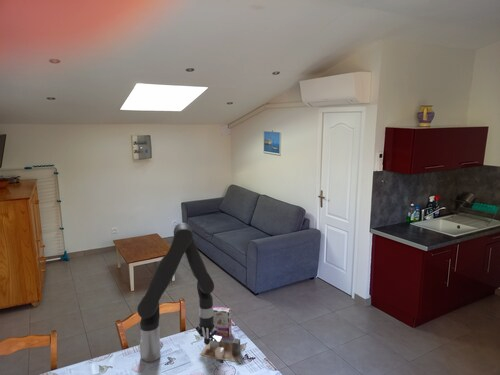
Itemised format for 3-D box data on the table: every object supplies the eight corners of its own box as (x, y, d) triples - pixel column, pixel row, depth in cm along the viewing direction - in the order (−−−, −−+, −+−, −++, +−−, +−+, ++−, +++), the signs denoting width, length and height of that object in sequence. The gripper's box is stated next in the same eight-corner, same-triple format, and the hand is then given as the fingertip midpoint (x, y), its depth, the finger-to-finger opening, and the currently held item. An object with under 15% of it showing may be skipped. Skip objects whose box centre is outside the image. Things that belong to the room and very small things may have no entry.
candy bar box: (231, 334, 202) (231, 307, 199) (229, 339, 197) (228, 312, 194) (213, 331, 204) (212, 305, 201) (210, 336, 199) (209, 310, 197)
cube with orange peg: (207, 354, 182) (207, 344, 181) (213, 345, 189) (213, 335, 188) (216, 356, 180) (216, 345, 179) (222, 347, 188) (222, 336, 187)
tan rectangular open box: (199, 356, 182) (198, 342, 181) (210, 341, 195) (209, 328, 194) (235, 364, 176) (235, 349, 175) (244, 347, 189) (243, 334, 188)
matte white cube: (215, 356, 180) (215, 350, 180) (217, 352, 183) (217, 346, 183) (221, 358, 179) (221, 352, 179) (224, 354, 182) (223, 347, 182)
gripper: (191, 315, 183) (192, 345, 186) (215, 319, 179) (215, 350, 182) (197, 308, 190) (198, 337, 193) (220, 312, 187) (221, 341, 189)
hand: (207, 343), depth 188 cm, fingers closed
